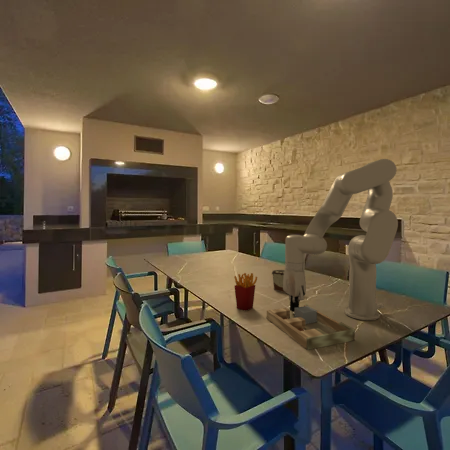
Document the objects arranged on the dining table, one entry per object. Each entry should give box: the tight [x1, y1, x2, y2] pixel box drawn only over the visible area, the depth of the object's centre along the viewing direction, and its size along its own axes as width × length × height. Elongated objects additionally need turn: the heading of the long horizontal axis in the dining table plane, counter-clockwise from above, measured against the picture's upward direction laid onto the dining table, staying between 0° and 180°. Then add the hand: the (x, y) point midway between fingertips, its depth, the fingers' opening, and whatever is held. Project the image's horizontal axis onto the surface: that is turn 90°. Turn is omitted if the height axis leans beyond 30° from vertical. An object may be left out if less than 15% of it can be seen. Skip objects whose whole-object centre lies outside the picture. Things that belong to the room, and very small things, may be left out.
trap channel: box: [266, 304, 356, 351], centre depth 100 cm, size 18×26×4 cm
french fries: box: [233, 272, 258, 312], centre depth 121 cm, size 9×8×15 cm
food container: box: [271, 269, 287, 294], centre depth 145 cm, size 12×6×10 cm, turn 47°
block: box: [293, 305, 318, 325], centre depth 107 cm, size 6×6×4 cm
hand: (294, 310), depth 114 cm, fingers closed
